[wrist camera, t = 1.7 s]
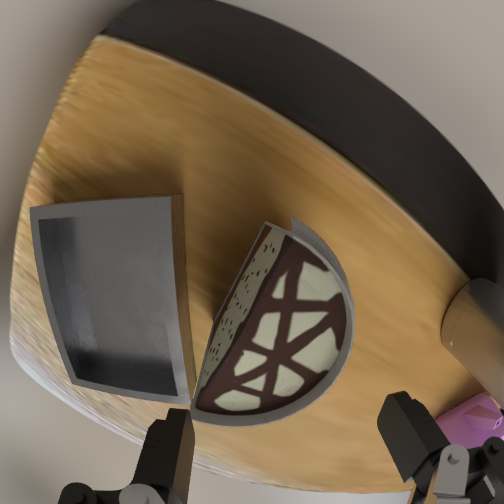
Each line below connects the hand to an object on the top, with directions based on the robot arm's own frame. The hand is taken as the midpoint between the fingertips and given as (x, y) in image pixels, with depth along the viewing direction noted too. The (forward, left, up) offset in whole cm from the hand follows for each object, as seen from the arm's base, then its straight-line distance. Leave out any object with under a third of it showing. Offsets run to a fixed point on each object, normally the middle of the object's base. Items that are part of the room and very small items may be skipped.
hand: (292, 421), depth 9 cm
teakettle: (-32, +27, -13) cm, 44 cm away
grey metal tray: (+13, +1, -13) cm, 18 cm away
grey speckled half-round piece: (0, 0, -13) cm, 13 cm away
